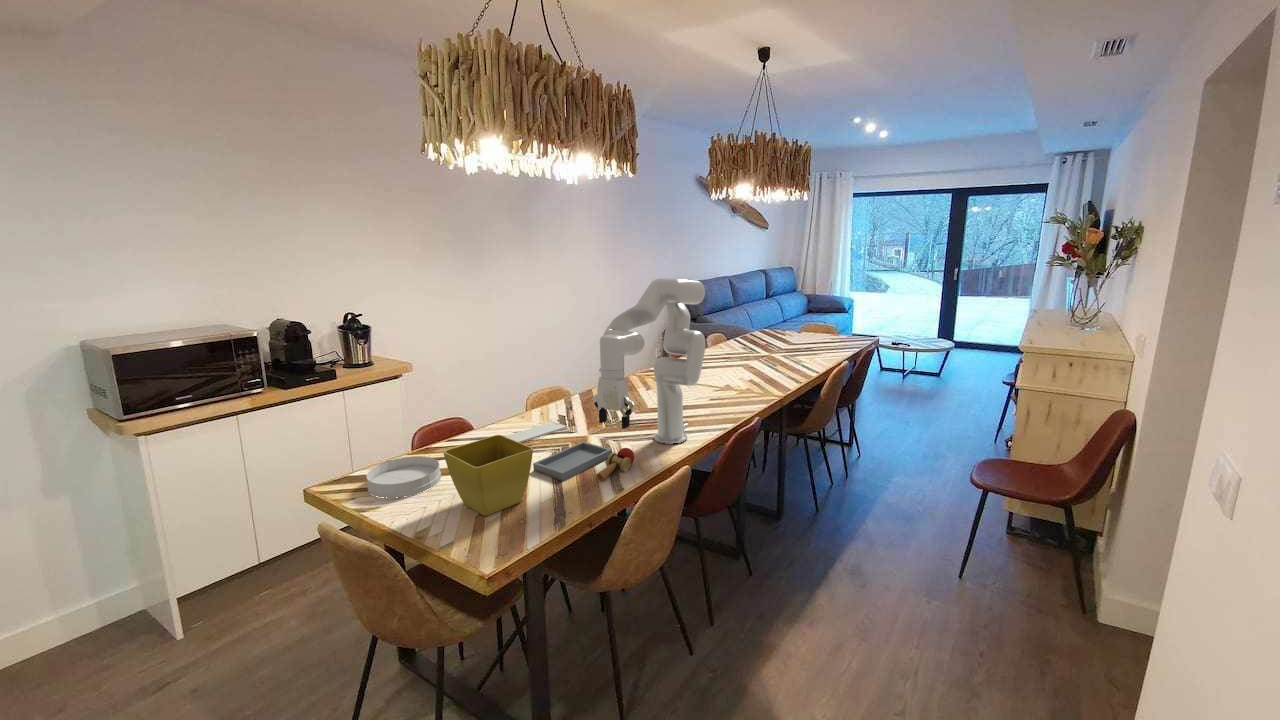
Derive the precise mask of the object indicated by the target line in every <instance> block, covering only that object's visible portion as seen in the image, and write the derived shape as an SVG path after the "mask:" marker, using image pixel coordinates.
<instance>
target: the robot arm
mask: <svg viewBox="0 0 1280 720" xmlns="http://www.w3.org/2000/svg"><path fill="white" fill-rule="evenodd" d="M705 288H706V287H705V286H704V284H703V282H701V281H699V280H691V279H683V278H665V277H663V278H661V277H660V278H656V279H653V280H652V281H651V282H650V283H649V285H648V286H647V287H646V289H645V291H644V292H643V294H641V296H640V298H639V300H638V301H637V303H636V304H635V305H634V306H632V307H630V308H628V309H626V310H625V311H623V312H622V313H620V314H618V315H617V316H616V317H615V318H614V319H613V320H611V322H610V323H609V325H608V326H607V327H606V328H605V331H604V333H603V335H602V336H601V337H600V339H599V356H600V357H599V359H600V360H599V361H600V368H599V370H598V371H599V372H600V376H599V378H598V383H597V393H596V394H595V395H593V396H592V400H593V402H594V405H595V406H594V407H596V411H597V412H598V423H599V424H602V423H605V422H606V423H607V421H608V411H607V410H611V411H616V412H620V413H621V415H622V416H621V429H623V430H625V429H627V428H629V427H630V425H631V421H630V418H631V417H630V416H631V415H632V414H633V413H634V411H635V408H636V405H637V404H636V402H634V401H633V400H631V399H630V397H629V387H628V382H627V378H626V377H625V356H634V355H635V356H636V355H638V354H640V352H642V351H643V349H644V347H645V338H644V336H642V335H641V334H640V333H639V332H637V331H631V330H632V329H636V328H639V327H643V326H646V325H649V324H652V323H653V322H655V321H656V320H657V319H658V317H659V315H661V313H662V311H663V310H664V307H665V308H666V311H667V321H666V325H665V329H664V330H665V331H664V337H663V343H662V345H663V346H662V347H663V350H664V351H665V352H666V353H668V354H670V355H671V354H672V355H679V356H686V358H679V357H673V356H672V357H671V356H664V357H660V358H658V359H657V360H656V361H655V363H654V366H653V374H654V380H655V385H656V396H657V397H656V401H657V405H656V407H657V432H656V433H655V434H654V435H653V439H654V440H655V442H657V443H659V442H660V444H662V443H665V445H674V444H673V443H678V444H682V443H684V442H686V441H687V440H688V434H687V433H686V432H685V430H686V429H687V428H689V426H690V425H689V423H687V422H685V423H684V406H683V404H684V403H683V402H684V401H683V400H684V395H683V390H682V388H681V386H687V387H692V386H695V385H696V384H697V383H698V382H699V380H700V378H701V373H702V367H703V363H704V358H705V357H704V356H705V354H706V338H705V336H704V335H705V334H703V333H702V332H701V331H698V330H694V329H693V330H692V329H690V327H691V326H690V325H691V314H690V312H689V311H690V310H689V309H688V308H687V306H686V305H699V304H701V303H702V302H703V300H704V298H705V295H706V289H705ZM685 440H686V441H685ZM683 441H684V442H683ZM681 442H682V443H681Z"/></svg>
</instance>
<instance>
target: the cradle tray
mask: <svg viewBox="0 0 1280 720" xmlns="http://www.w3.org/2000/svg"><path fill="white" fill-rule="evenodd" d="M611 453H613V450H612V449H611V448H608V447H604V446H601V445H597V444H593V443H590V442H586V441H580V442H579V443H576V444H574V445H572V446H569V447H567V448H565V449H563V450H561V451H558V452H555V453H554V454H551V455H549V456H547V457H545V458H542V459H540V460H537V461H535V462H533V463H532V465H533V472H535V471H536V472H535V473H538V472H539V473H538V474H540V473H541V474H540V475H543V474H544V476H547V477H549V478H552V479H555V480H558V481H560V482H565V481H567V480H569V479H571V478H573V477H575V476H577V475H579V474H581V473H583V472H585V471H586V470H589V469H591V468H593V467H594V466H597V465H600V464H601V463H604V462H605V461H607V459H608V456H609V455H610V454H611Z"/></svg>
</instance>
